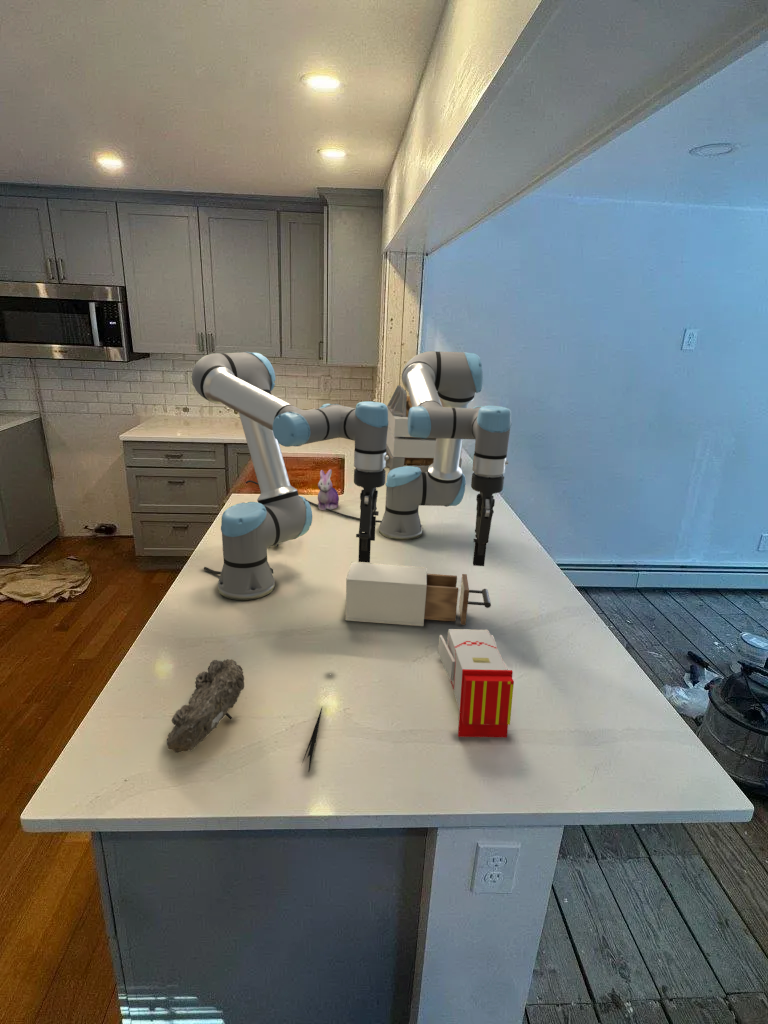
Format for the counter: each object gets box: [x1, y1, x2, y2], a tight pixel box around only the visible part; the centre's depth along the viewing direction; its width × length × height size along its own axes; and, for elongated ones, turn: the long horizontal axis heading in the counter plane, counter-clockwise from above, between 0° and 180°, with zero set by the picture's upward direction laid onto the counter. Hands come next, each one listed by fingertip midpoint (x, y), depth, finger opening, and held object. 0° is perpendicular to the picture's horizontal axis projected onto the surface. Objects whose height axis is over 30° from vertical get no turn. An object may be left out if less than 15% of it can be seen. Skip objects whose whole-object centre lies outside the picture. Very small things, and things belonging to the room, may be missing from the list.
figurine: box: [317, 468, 340, 511], centre depth 220 cm, size 9×10×15 cm
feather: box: [301, 673, 332, 771], centre depth 108 cm, size 2×28×2 cm
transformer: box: [385, 384, 464, 471], centre depth 268 cm, size 34×33×41 cm
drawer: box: [424, 573, 492, 626], centre depth 145 cm, size 24×9×10 cm, turn 86°
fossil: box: [166, 658, 245, 754], centre depth 106 cm, size 22×10×15 cm
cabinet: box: [345, 561, 428, 627], centre depth 146 cm, size 20×10×12 cm, turn 86°
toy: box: [437, 628, 515, 738], centre depth 117 cm, size 12×13×30 cm
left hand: (367, 550), depth 142 cm, fingers open, 13 cm apart
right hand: (478, 564), depth 141 cm, fingers closed
